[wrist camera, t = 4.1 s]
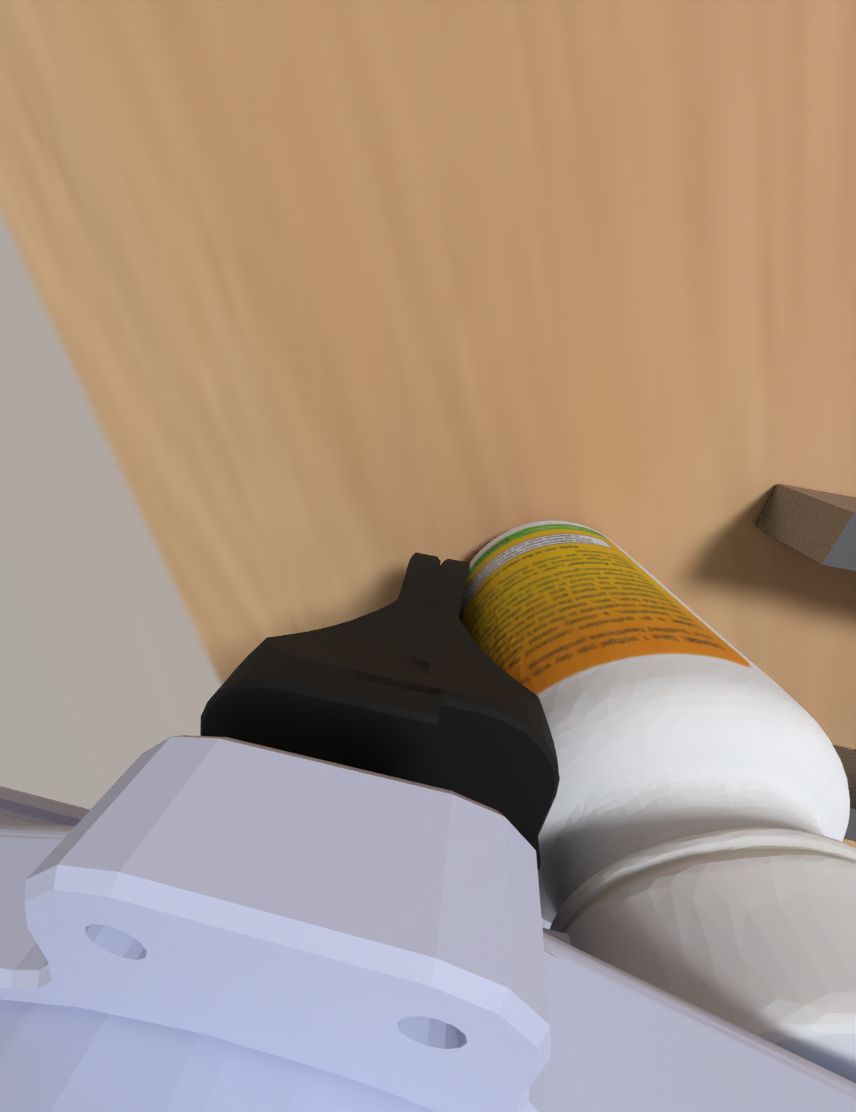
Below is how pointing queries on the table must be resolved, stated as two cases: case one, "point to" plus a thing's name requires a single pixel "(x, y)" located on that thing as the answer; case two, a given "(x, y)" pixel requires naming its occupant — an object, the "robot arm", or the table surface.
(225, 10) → the table surface
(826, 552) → the socket
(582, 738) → the supplement bottle
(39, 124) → the table surface
